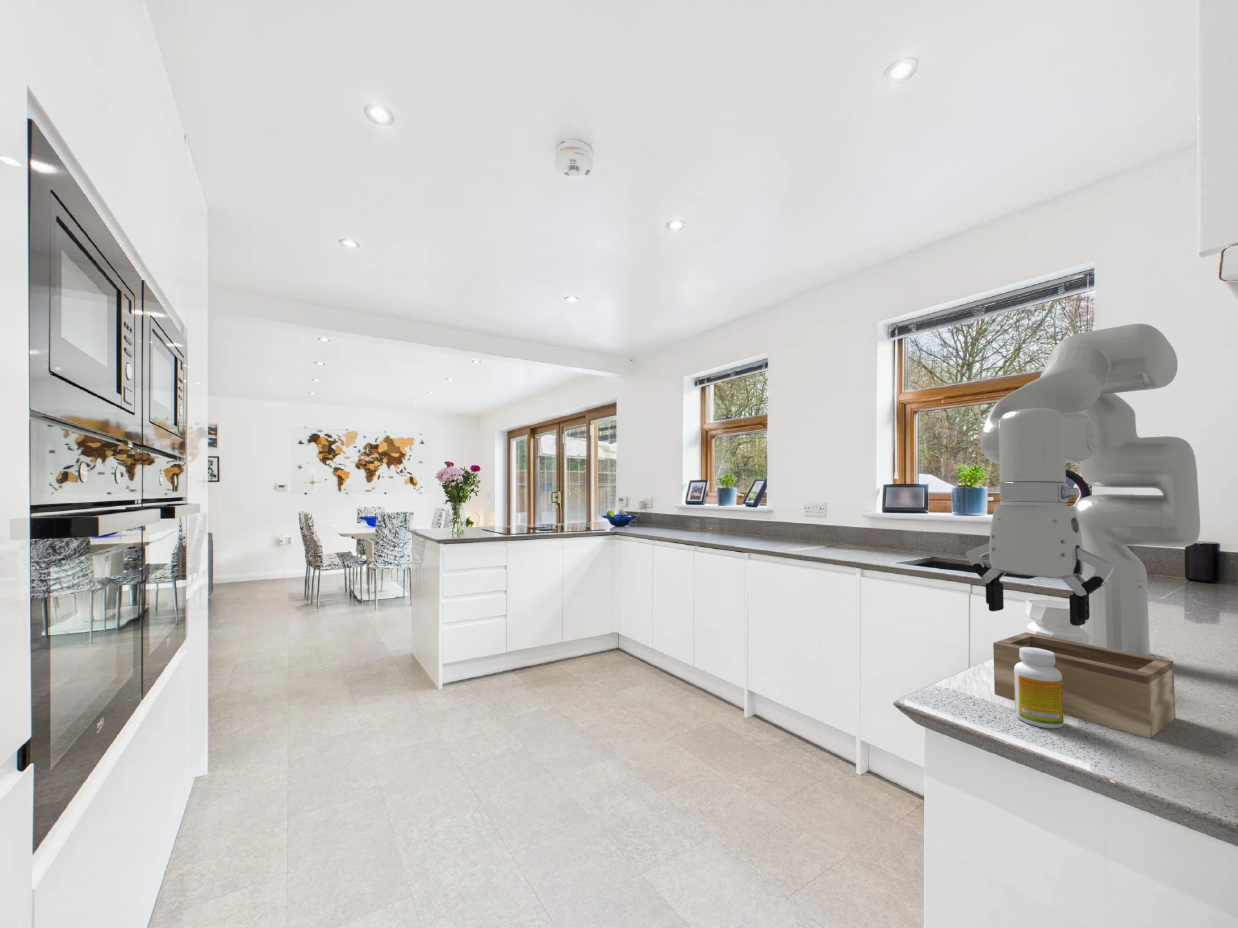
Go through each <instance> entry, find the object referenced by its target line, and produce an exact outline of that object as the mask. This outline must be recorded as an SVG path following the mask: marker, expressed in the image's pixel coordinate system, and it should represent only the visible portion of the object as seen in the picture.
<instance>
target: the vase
mask: <svg viewBox="0 0 1238 928" xmlns="http://www.w3.org/2000/svg"><path fill="white" fill-rule="evenodd" d="M1025 615H1027V616H1028V617H1030V619H1031V620H1033V621H1032V622H1030V623H1028V624H1027V626H1026V627H1027V629H1026V632H1027V633H1032V634H1037V635H1042V636H1047V637H1052V638H1057V639H1063V640H1068V641H1073V642H1078V643H1083V644H1088V645H1089V634H1087V633H1086V632H1085V631H1084V630H1083V628H1081V627H1083V625H1084V624H1083V625H1079V626H1075V625H1072V624H1070V602H1069V601H1067V600H1065V601H1064V600H1059V599H1047V598H1046V599H1045V598H1028V599H1026V600H1025ZM1086 623H1087V620H1085V624H1086Z"/></svg>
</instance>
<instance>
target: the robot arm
mask: <svg viewBox="0 0 1238 928" xmlns="http://www.w3.org/2000/svg"><path fill="white" fill-rule="evenodd" d="M1177 373H1178V358H1177V354H1176V352H1175V349H1174V347H1173V346H1172V344H1171V342H1169V340H1168V339H1167V337H1166V336H1165V335H1164V334H1163V332H1161V331H1160V330H1159V329H1158V328H1157V327H1154V326H1152V325H1150V324H1146V323H1132V324H1131V323H1130V324H1126V325H1120V326H1114V327H1107V328H1103V329H1096V330H1092V331H1091V330H1089V331H1084V332H1080V333H1077V334H1076V333H1075V334H1072V335H1069V336H1067V337H1065V338H1063V339H1061V340H1060V341H1059V342H1058V343H1057V344H1055V346H1054V347H1053V349H1052V351H1051V353H1050V354H1049V357H1048V359H1047V362H1046V363H1045V365H1044V368H1043V370H1042V372H1041V373H1040V376H1039V377H1038V378H1035V379H1034V380H1032V381H1030V382H1028V383H1026V384H1025V385H1023V386H1021V387H1019V388H1017V389H1016V390H1014V391H1012V392H1010V393H1009V394H1007V395H1004V396H1003V397H1002V398H1001V399H999V400H998V401H997V402H996V403H995V404H994V406H993V407H992V408H991V410H990V411H989V413H988V416H987V417H986V419H985V422H984V424H983V426H982V429H981V433H980V437H979V438H980V439H979V440H980V441H979V443H980V449H981V453H982V454H983V456H984V457H985V458H986V459H987V460H988V461H989V462H991V463H993V464H998V465H999V499H1000V501H999V503H1000V504H995V506H994V510H993V514H992V519H991V525H990V534H989V541H988V542H987V543H985V544H982V545H980V546H976V547H974V548H972V549H970V550H966V552H965V556H966V558H967V560H968V562H969V563H970V565H971V566H972V570H973V571H974V572H975V573H976V574H977V575H978V576H979V577H980V579H981V581H982V583H985V603H986V604H987V605H988V610H989V611H990V612H997V611H998V612H999V611H1002V610H1004V607H1005V606H1004V584H1003V582H1000V580H1001V579H1002V578H1003V577H1004V576H1005V575H1006V574H1014V575H1021V576H1029V577H1038V578H1049V579H1055V580H1056V579H1057V580H1058V579H1060V580H1062V581H1063V582H1064V583H1065V584H1066V585H1067V586H1068V587H1069V588H1070V589H1071V590H1072V594H1070V595H1069V596H1068V597H1069V601H1068V602H1070V624H1072V625H1075V626H1079V625H1082V629H1083V630H1084V631H1085V632H1086V633H1087V634H1089V645H1093V646H1099V647H1104V648H1109V649H1114V650H1119V651H1124V652H1129V653H1135V654H1140V655H1145V656H1150V657H1155V658H1160V659H1162V657H1160V656H1158V655H1157V654H1154V653H1153V652H1151V651H1150V649H1151V648H1150V645H1151V644H1150V626H1149V625H1150V624H1149V623H1150V622H1149V600H1148V599H1149V595H1148V574H1147V573H1148V572H1147V569H1146V567H1145V564H1144V563H1143V561H1142V560H1141V559H1140V557H1138V556H1137V555H1136V554H1134V552H1133V551H1132V550H1130V548H1129V547H1128V546H1150V547H1151V546H1152V547H1164V548H1165V547H1167V548H1168V547H1169V548H1185V547H1186V548H1187V547H1190V546H1192V545H1194V544H1196V542H1197V541H1198V539H1199V537H1200V533H1201V516H1200V515H1201V514H1200V500H1199V499H1200V498H1199V486H1198V485H1199V484H1198V472H1197V471H1198V468H1197V461H1196V456H1195V451H1194V449H1193V447H1192V446H1191V444H1190V443H1189V442H1188V441H1187V440H1186V439H1184V438H1181V437H1177V436H1168V435H1167V436H1147V437H1139V435H1138V434H1137V421H1136V419H1137V416H1136V412H1135V410H1134V409H1133V407H1132V406H1131V405H1130V404H1129V403H1128V402H1126V400H1124V399H1123V398H1122V397H1120V396H1119V395H1117V394H1118V393H1126V392H1137V391H1149V390H1155V389H1156V390H1157V389H1161V388H1165V387H1167V386H1168V385H1170V384H1171V383H1172V382H1173V381H1174V379H1175V377H1176V375H1177ZM1078 462H1079V467H1080V469H1079V470H1080V474H1081V477H1082V480H1083V481H1084V482H1085V483H1086V484H1088V485H1090V486H1093V487H1098V488H1115V489H1117V488H1121V489H1123V488H1126V489H1128V488H1131V489H1134V488H1135V489H1136V488H1137V489H1141V488H1142V489H1143V488H1146V489H1147V488H1148V489H1149V488H1151V489H1157V490H1159V491H1160V492H1161V493H1162V494H1125V493H1123V494H1112V493H1111V494H1110V493H1107V494H1105V493H1104V494H1093V495H1088V496H1085V497H1082V498H1080V499H1078V501H1076V502H1075V504H1074V506H1068V505H1067V503H1069V499H1072V498H1079V497H1080V489H1079V488H1078V487H1072V486H1069V483H1066V482H1067V472H1066V471H1067V468H1066V467H1067V465H1066V464H1071V463H1078ZM987 554H988V555H989V556H988V557H989V558H988V560H989V564H990V568H989V567H988V566H987V565H986V564H984V562H983V560H982V556H984V555H987ZM1085 620H1087V623H1086V624H1085ZM1083 624H1084V625H1083Z"/></svg>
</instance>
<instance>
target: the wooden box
mask: <svg viewBox="0 0 1238 928" xmlns="http://www.w3.org/2000/svg"><path fill="white" fill-rule="evenodd" d="M992 644H993V646H992V647H993V678H994V679H993V682H994V683H993V684H994V694H995V695H998V696H1001V697H1004V698H1008V699H1011V700H1014V701H1015V689H1014V666H1015V665H1016V664H1017V663H1019V662H1022V660H1021V659H1020V656H1019V649H1020V648H1022V647H1032V648H1039V649H1044V650H1048V651H1051V652H1053V653H1054V654H1055V665H1053V667H1054V668H1056V669H1058V670H1059V671H1060V673H1061V674H1062V692H1063V715H1067V716H1070V717H1074V718H1077V719H1081V720H1084V721H1088V722H1090V723H1095V724H1097V725H1102V726H1105V727H1109V728H1112V729H1115V730H1120V731H1122V732H1126V733H1129V734H1134V735H1136V736H1139V737H1143V738H1146V739H1151V738H1152V737H1154V736H1155V735H1156V734H1157V733H1159V731H1161V730H1162V729H1164V728H1165V727H1166V726H1167V725H1168V724H1170V723H1171V722H1172V721H1173V720H1175V719H1176V699H1175V697H1176V695H1175V694H1176V693H1175V673H1174V672H1175V669H1174V660H1170V659H1165V658H1161V657H1160V658H1161V659H1160V658H1155V657H1150V656H1145V655H1140V654H1135V653H1129V652H1124V651H1119V650H1114V649H1109V648H1104V647H1099V646H1093V645H1088V644H1083V643H1078V642H1073V641H1068V640H1063V639H1057V638H1052V637H1047V636H1042V635H1037V634H1032V633H1027V631H1026V632H1022V633H1019V634H1017V635H1016V634H1015V635H1013V636H1010V637H1006V638H1004V639H1001V640H998V641H994V642H993V643H992Z"/></svg>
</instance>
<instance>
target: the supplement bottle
mask: <svg viewBox="0 0 1238 928" xmlns="http://www.w3.org/2000/svg"><path fill="white" fill-rule="evenodd" d="M1019 656H1020V659H1021V660H1022V662H1019V663H1017V664H1016V665H1015V666H1014V689H1015V700H1014V713H1015V714H1014V715H1015V717H1016V718H1017V719H1018V720H1020V721H1022V722H1024V723H1026V724H1029V725H1031V726H1035V727H1039V728H1042V729H1044V728H1045V729H1060V728H1062V727H1063V726H1064V725H1065V724H1064V723H1065V721H1064V714H1063V692H1062V674H1061V673H1060V671H1059V670H1058V669H1056V668H1054V667H1053V665H1055V654H1054V653H1053V652H1051V651H1048V650H1044V649H1039V648H1032V647H1022V648H1020V649H1019Z"/></svg>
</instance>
